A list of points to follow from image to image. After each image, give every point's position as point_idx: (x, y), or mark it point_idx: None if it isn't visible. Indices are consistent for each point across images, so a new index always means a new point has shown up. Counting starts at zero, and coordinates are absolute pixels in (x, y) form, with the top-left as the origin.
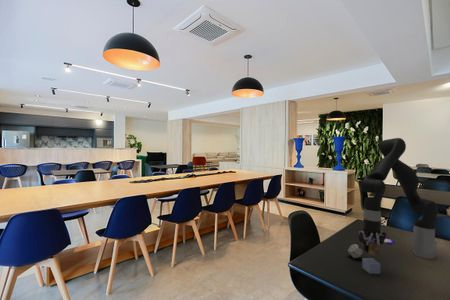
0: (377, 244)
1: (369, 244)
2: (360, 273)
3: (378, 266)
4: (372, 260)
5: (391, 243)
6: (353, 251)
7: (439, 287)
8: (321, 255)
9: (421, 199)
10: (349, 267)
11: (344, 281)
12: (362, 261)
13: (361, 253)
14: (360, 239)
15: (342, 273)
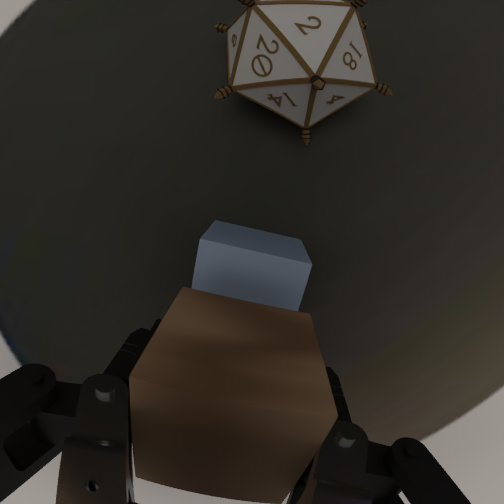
0: (257, 500)
1: (137, 461)
2: (140, 281)
3: None
4: (267, 296)
5: None
6: (229, 83)
7: (427, 428)
8: (62, 28)
9: None
10: (119, 198)
11: (24, 313)
12: (205, 232)
13: (316, 116)
14: (8, 402)
15: (42, 253)
